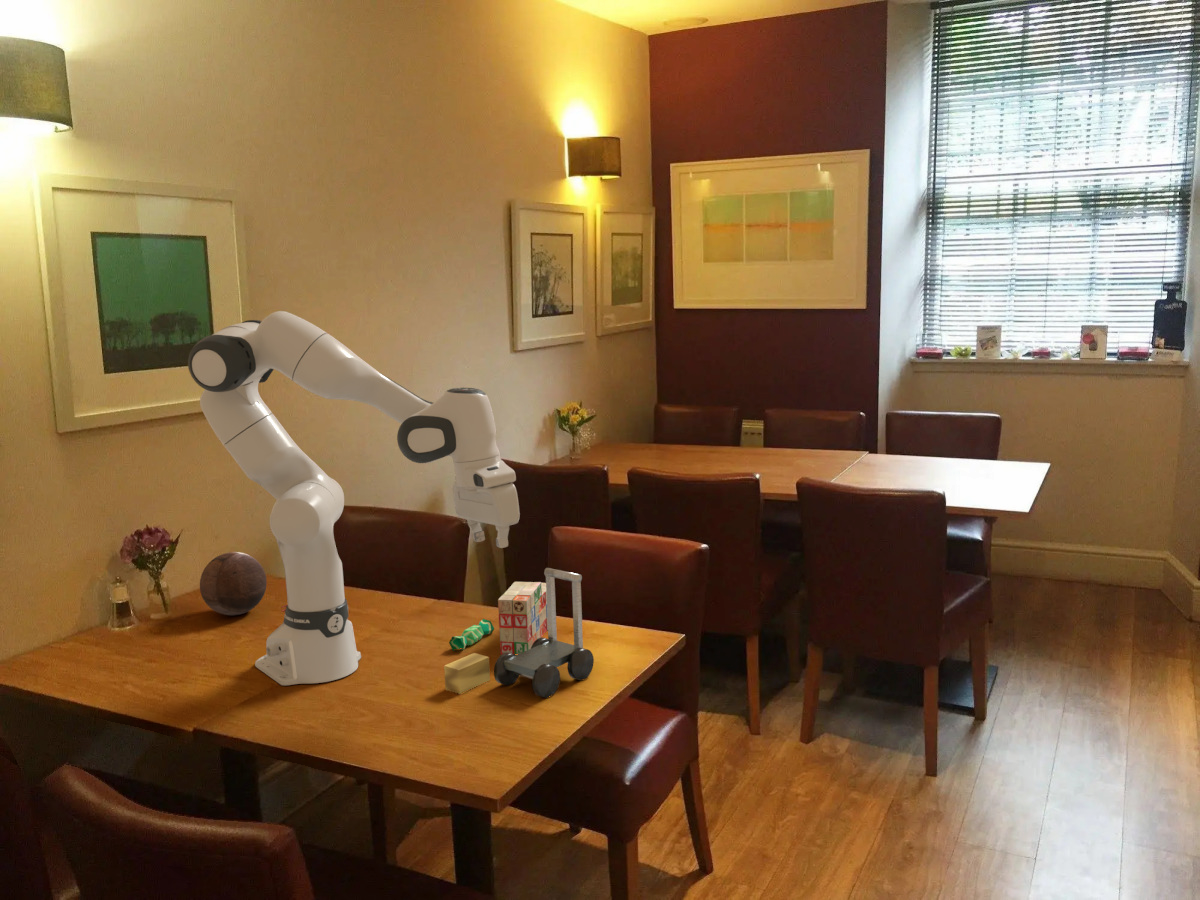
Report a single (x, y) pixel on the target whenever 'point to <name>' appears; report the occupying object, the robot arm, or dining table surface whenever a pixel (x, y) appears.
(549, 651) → the trolley
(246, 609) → the wooden sphere
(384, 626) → the dining table surface
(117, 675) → the dining table surface
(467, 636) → the candy
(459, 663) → the block
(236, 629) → the dining table surface
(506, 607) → the stack of blocks
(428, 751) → the dining table surface
